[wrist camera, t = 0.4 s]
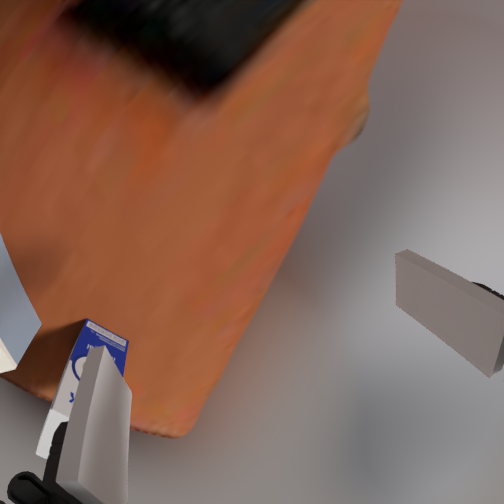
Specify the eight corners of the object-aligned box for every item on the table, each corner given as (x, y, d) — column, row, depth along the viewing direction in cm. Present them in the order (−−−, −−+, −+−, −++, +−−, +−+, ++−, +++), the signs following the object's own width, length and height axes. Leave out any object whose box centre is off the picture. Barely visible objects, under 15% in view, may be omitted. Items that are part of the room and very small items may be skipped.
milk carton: (70, 350, 39) (34, 455, 21) (85, 317, 39) (45, 423, 20) (111, 372, 42) (96, 481, 23) (129, 341, 41) (116, 454, 23)
